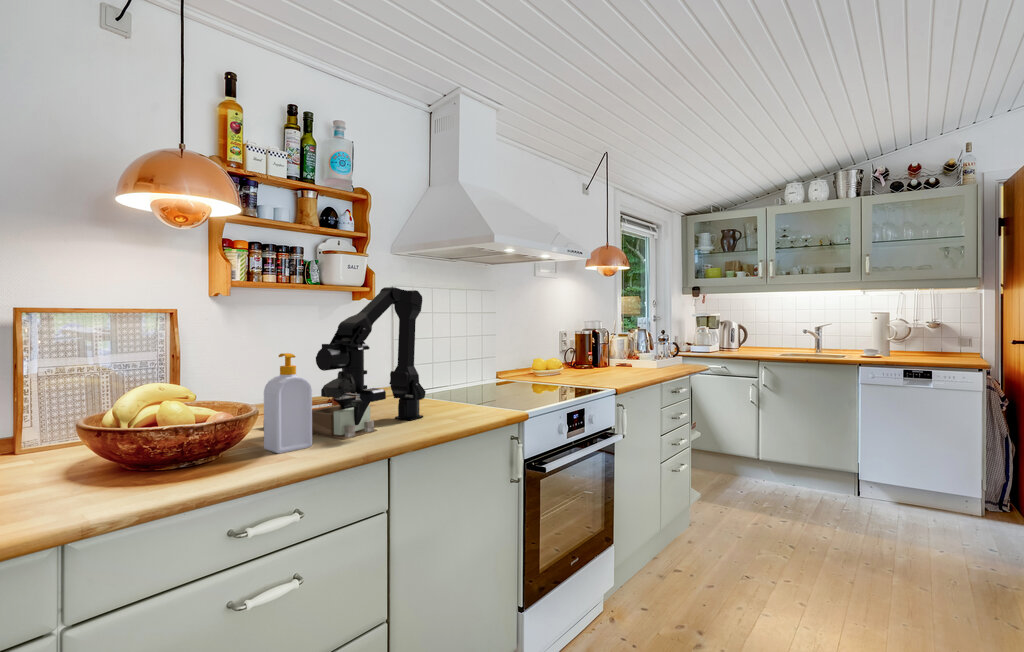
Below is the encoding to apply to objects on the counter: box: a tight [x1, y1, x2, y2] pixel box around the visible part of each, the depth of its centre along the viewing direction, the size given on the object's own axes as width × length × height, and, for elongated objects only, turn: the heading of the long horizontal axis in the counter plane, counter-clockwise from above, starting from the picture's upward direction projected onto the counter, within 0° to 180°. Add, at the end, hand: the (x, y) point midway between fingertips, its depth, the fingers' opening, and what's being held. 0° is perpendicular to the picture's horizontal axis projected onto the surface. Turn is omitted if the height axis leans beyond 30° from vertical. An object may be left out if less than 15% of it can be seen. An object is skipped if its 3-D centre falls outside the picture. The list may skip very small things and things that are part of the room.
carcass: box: [312, 405, 378, 441], centre depth 146 cm, size 12×14×6 cm
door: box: [334, 405, 371, 435], centre depth 144 cm, size 11×2×6 cm, turn 151°
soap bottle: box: [263, 352, 313, 455], centre depth 128 cm, size 9×7×23 cm
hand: (353, 424), depth 144 cm, fingers open, 2 cm apart
